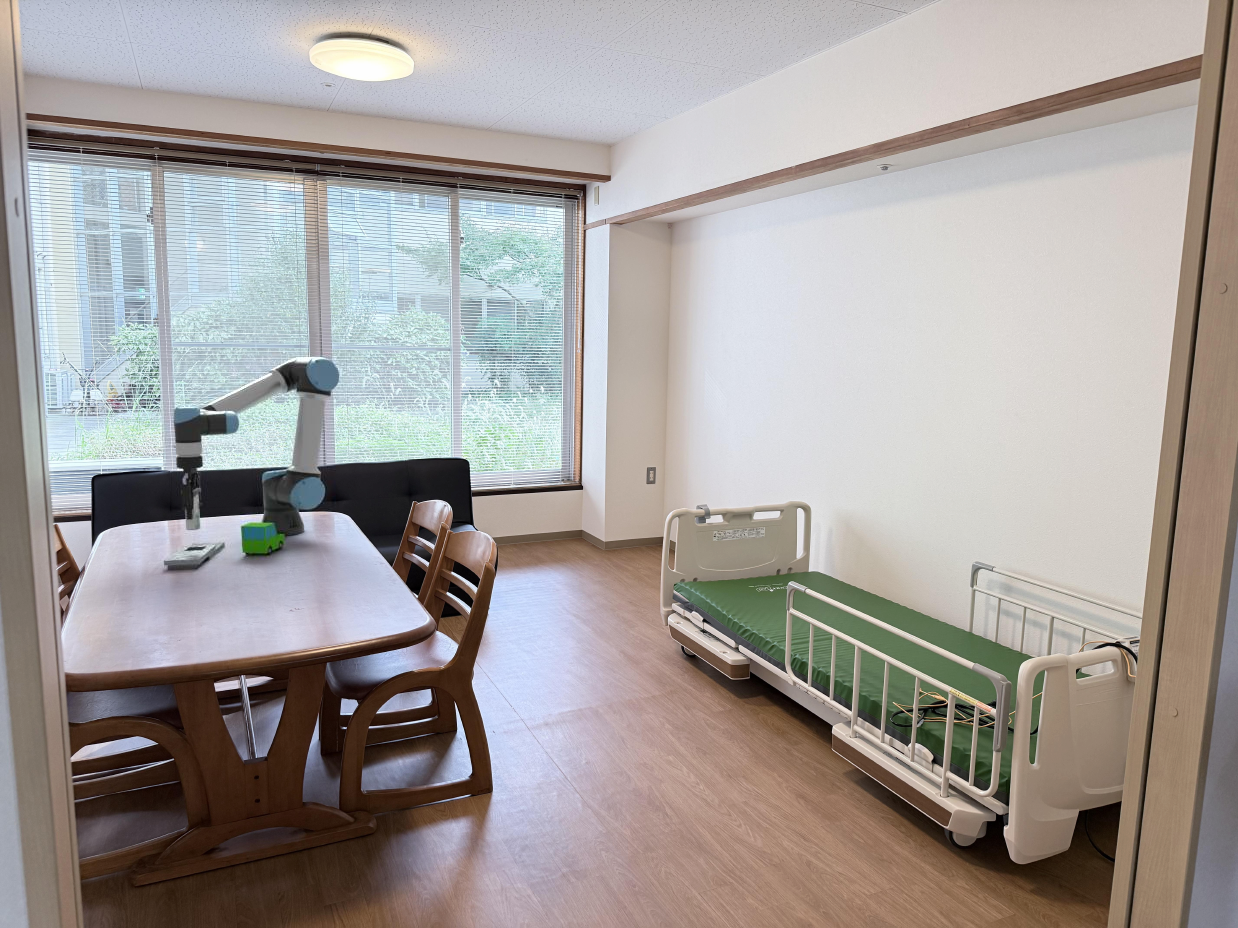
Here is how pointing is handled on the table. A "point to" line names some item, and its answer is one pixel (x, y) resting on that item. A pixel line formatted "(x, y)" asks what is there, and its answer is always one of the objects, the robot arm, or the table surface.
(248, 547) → the toy car
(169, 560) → the plate with square hole
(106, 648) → the table surface
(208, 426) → the robot arm
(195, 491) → the pin
